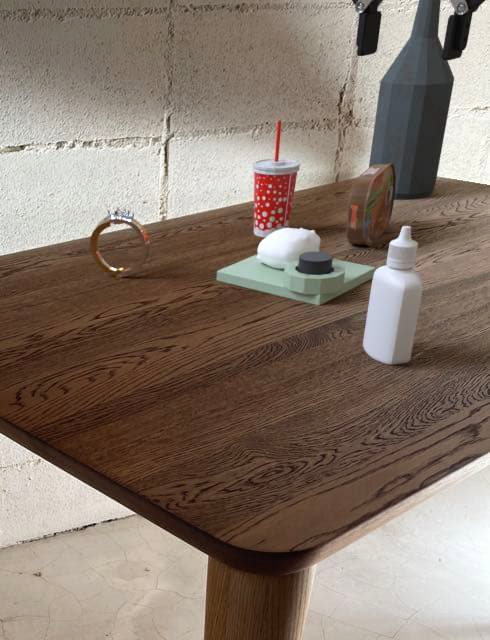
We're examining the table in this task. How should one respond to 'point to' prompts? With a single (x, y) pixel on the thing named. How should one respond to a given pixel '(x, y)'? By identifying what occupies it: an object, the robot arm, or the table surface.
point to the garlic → (287, 246)
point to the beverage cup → (273, 191)
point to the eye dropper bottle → (394, 304)
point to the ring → (119, 218)
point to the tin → (370, 204)
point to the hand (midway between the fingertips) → (407, 56)
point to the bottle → (414, 108)
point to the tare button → (315, 263)
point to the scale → (296, 279)
